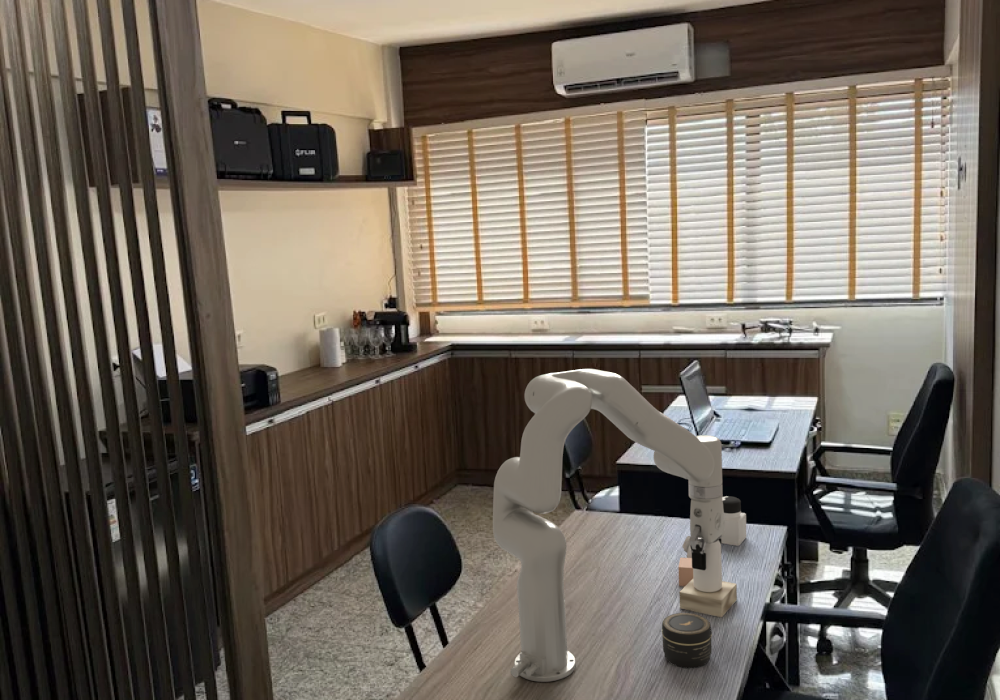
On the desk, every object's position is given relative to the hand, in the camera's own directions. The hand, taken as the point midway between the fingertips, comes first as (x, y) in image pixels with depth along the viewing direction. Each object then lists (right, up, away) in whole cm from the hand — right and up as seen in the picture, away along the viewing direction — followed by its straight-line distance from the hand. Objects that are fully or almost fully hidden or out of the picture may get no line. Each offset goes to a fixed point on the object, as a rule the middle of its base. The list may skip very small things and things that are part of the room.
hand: (707, 561), depth 196 cm
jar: (-9, -15, -21) cm, 28 cm away
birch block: (+1, -10, +2) cm, 11 cm away
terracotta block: (0, -9, +14) cm, 17 cm away
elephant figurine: (+4, -7, +24) cm, 26 cm away
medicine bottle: (+16, -4, +39) cm, 43 cm away
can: (+1, -7, +1) cm, 7 cm away
